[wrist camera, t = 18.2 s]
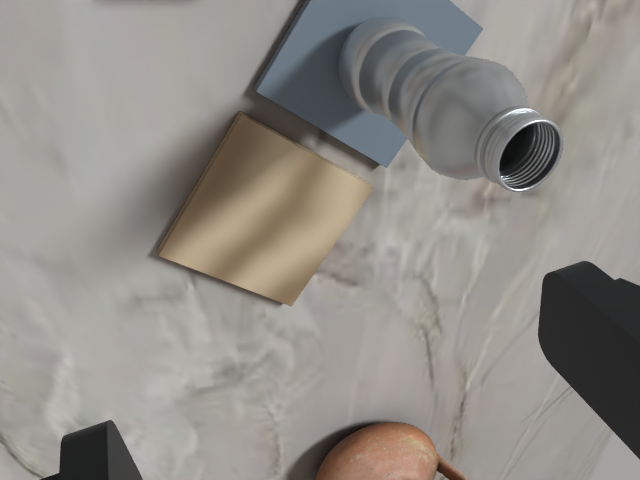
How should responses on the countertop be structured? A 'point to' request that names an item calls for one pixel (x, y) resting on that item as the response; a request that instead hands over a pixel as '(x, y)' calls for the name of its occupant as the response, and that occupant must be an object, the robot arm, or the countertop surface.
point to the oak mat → (264, 212)
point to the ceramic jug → (386, 456)
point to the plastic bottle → (449, 105)
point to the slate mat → (323, 57)
